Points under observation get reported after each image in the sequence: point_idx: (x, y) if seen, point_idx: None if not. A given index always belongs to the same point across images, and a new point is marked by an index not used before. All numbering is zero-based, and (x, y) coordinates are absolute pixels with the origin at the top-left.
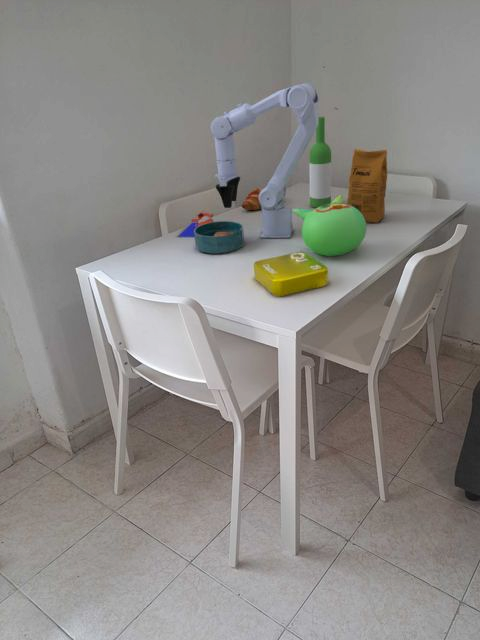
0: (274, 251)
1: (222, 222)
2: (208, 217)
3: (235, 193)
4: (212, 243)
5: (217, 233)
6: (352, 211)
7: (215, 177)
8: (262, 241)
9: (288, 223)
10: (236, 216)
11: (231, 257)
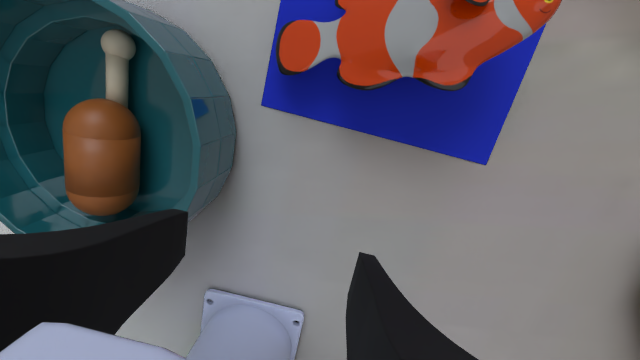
0: None
1: (194, 158)
2: (410, 55)
3: (348, 343)
4: None
5: (67, 127)
6: None
7: (33, 334)
8: (176, 288)
9: None
10: (591, 211)
11: None
